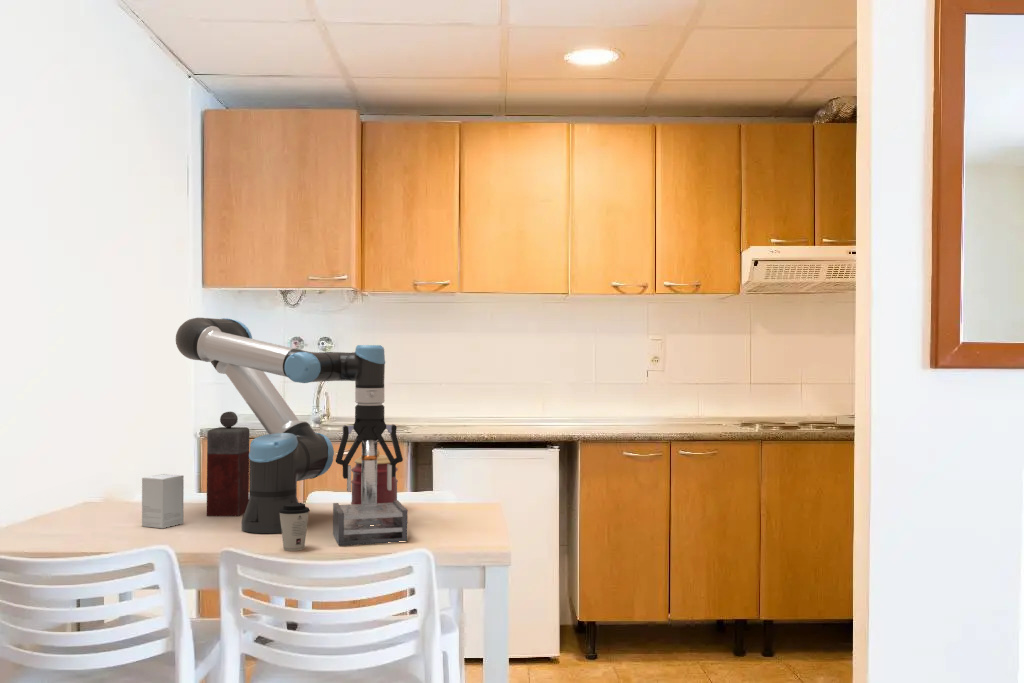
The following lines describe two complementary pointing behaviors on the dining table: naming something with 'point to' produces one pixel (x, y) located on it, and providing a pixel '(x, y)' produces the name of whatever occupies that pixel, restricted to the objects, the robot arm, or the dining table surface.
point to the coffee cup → (294, 525)
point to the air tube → (369, 472)
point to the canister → (382, 491)
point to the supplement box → (162, 500)
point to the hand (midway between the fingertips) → (369, 490)
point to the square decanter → (227, 468)
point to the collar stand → (369, 523)
